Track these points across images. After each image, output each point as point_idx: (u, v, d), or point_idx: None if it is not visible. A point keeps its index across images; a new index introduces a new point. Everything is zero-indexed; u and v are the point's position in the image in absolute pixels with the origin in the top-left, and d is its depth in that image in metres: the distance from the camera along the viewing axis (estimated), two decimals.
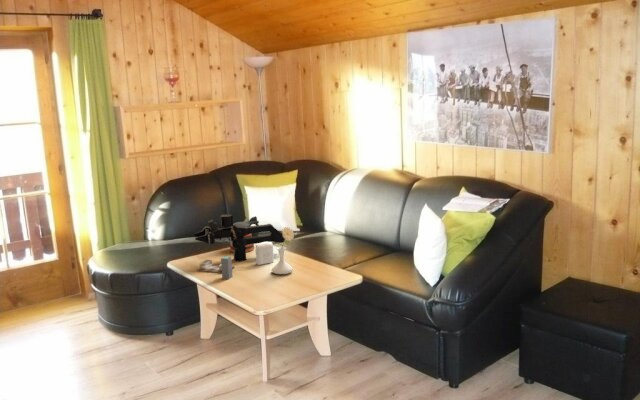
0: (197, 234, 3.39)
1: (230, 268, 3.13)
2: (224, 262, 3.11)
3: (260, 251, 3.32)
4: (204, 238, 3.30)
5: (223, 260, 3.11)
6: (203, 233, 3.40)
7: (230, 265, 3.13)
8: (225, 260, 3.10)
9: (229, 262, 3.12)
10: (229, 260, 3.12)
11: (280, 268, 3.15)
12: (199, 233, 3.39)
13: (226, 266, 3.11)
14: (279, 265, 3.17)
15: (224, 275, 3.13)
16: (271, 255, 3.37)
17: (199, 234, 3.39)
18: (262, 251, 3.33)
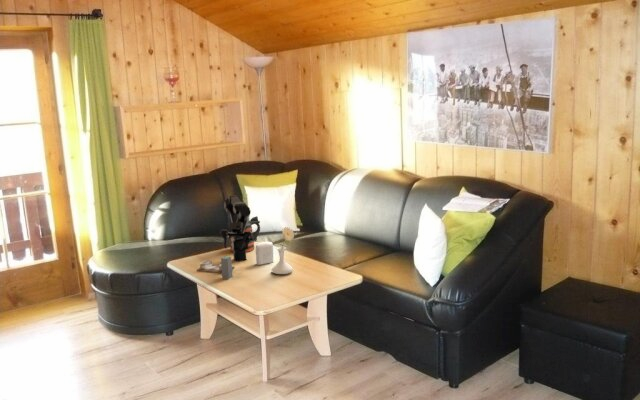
0: (226, 244, 3.22)
1: (230, 268, 3.13)
2: (224, 262, 3.11)
3: (260, 251, 3.32)
4: (245, 241, 3.20)
5: (223, 260, 3.11)
6: (227, 238, 3.24)
7: (230, 265, 3.13)
8: (225, 260, 3.10)
9: (229, 262, 3.12)
10: (229, 260, 3.12)
11: (280, 268, 3.15)
12: (226, 241, 3.22)
13: (226, 266, 3.11)
14: (279, 265, 3.17)
15: (224, 275, 3.13)
16: (271, 255, 3.37)
17: (227, 242, 3.23)
18: (262, 251, 3.33)
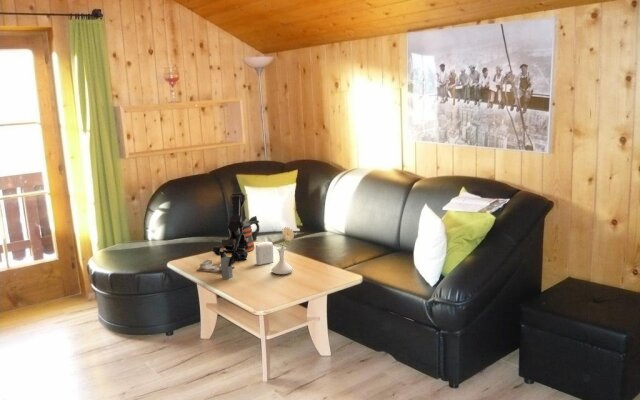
0: None
1: (230, 268, 3.13)
2: (224, 262, 3.11)
3: (260, 251, 3.32)
4: (233, 258, 3.13)
5: (223, 260, 3.11)
6: (224, 255, 3.16)
7: None
8: (225, 260, 3.10)
9: None
10: (229, 260, 3.12)
11: (280, 268, 3.15)
12: None
13: (226, 266, 3.11)
14: (279, 265, 3.17)
15: (224, 275, 3.13)
16: (271, 255, 3.37)
17: None
18: (262, 251, 3.33)
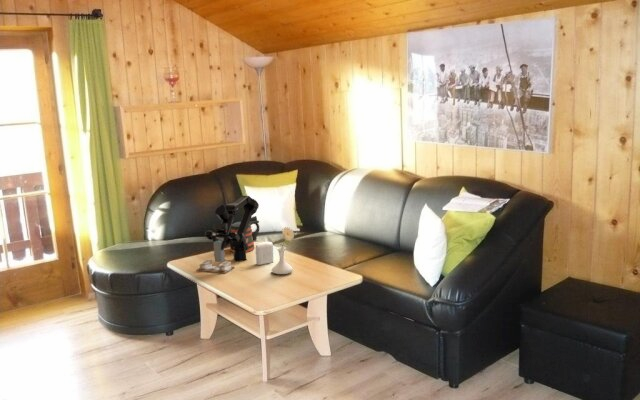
0: None
1: (222, 251, 3.20)
2: (216, 246, 3.18)
3: (260, 251, 3.32)
4: (226, 242, 3.21)
5: (215, 244, 3.18)
6: (216, 239, 3.23)
7: None
8: (217, 244, 3.17)
9: None
10: (221, 244, 3.19)
11: (280, 268, 3.15)
12: None
13: (218, 249, 3.18)
14: (279, 265, 3.17)
15: (216, 258, 3.20)
16: (271, 255, 3.37)
17: None
18: (262, 251, 3.33)
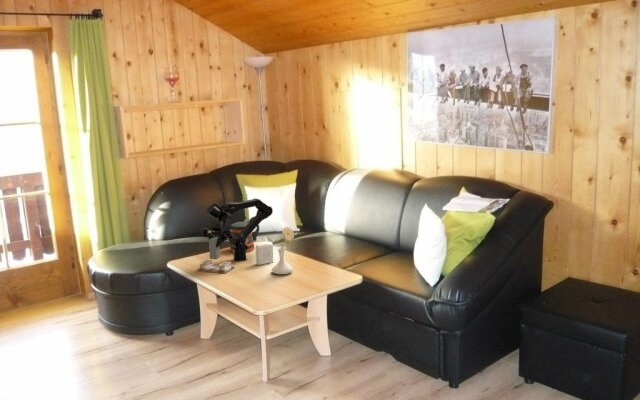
0: None
1: (218, 249, 3.26)
2: (212, 243, 3.23)
3: (260, 251, 3.32)
4: (221, 239, 3.26)
5: (211, 241, 3.23)
6: (212, 237, 3.28)
7: None
8: (213, 241, 3.23)
9: (216, 243, 3.24)
10: (216, 241, 3.24)
11: (280, 268, 3.15)
12: None
13: (214, 247, 3.23)
14: (279, 265, 3.17)
15: (211, 255, 3.25)
16: (271, 255, 3.37)
17: None
18: (262, 251, 3.33)
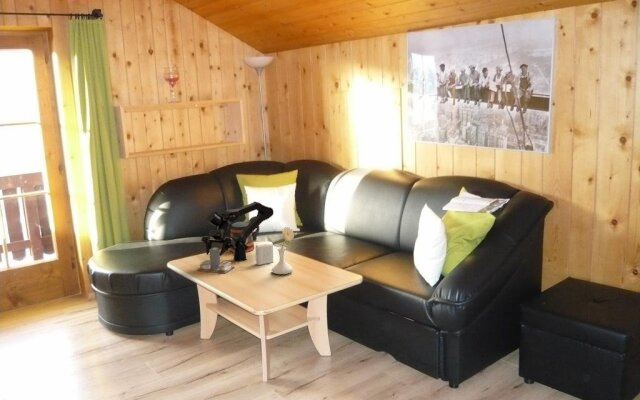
0: (208, 250, 3.28)
1: (218, 259, 3.27)
2: (212, 253, 3.24)
3: (260, 251, 3.32)
4: (224, 248, 3.26)
5: (211, 251, 3.24)
6: (209, 245, 3.30)
7: (218, 256, 3.27)
8: (213, 251, 3.24)
9: (217, 253, 3.25)
10: (217, 251, 3.25)
11: (280, 268, 3.15)
12: (208, 248, 3.28)
13: (214, 257, 3.25)
14: (279, 265, 3.17)
15: (212, 265, 3.26)
16: (271, 255, 3.37)
17: (208, 249, 3.29)
18: (262, 251, 3.33)
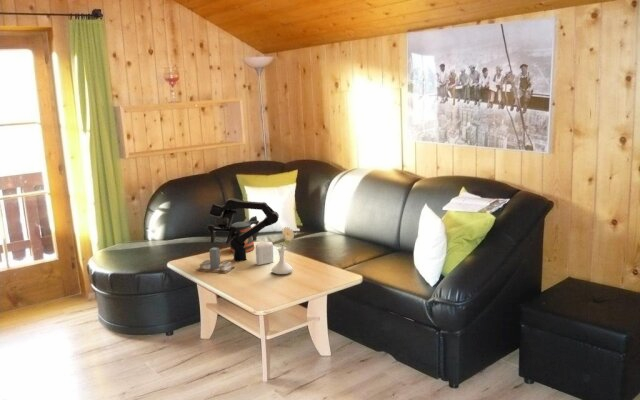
0: (213, 239, 3.33)
1: (218, 259, 3.27)
2: (212, 253, 3.24)
3: (260, 251, 3.32)
4: (231, 236, 3.31)
5: (211, 251, 3.24)
6: (214, 233, 3.35)
7: (218, 256, 3.27)
8: (213, 251, 3.24)
9: (217, 253, 3.25)
10: (217, 251, 3.25)
11: (280, 268, 3.15)
12: (213, 236, 3.33)
13: (214, 257, 3.25)
14: (279, 265, 3.17)
15: (212, 265, 3.26)
16: (271, 255, 3.37)
17: (213, 237, 3.34)
18: (262, 251, 3.33)
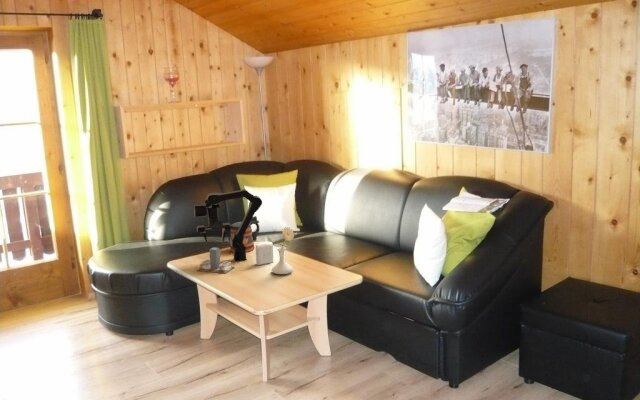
0: (206, 239, 3.37)
1: (218, 259, 3.27)
2: (212, 253, 3.24)
3: (260, 251, 3.32)
4: None
5: (211, 251, 3.24)
6: None
7: (218, 256, 3.27)
8: (213, 251, 3.24)
9: (217, 253, 3.25)
10: (217, 251, 3.25)
11: (280, 268, 3.15)
12: None
13: (214, 257, 3.25)
14: (279, 265, 3.17)
15: (212, 265, 3.26)
16: (271, 255, 3.37)
17: None
18: (262, 251, 3.33)
